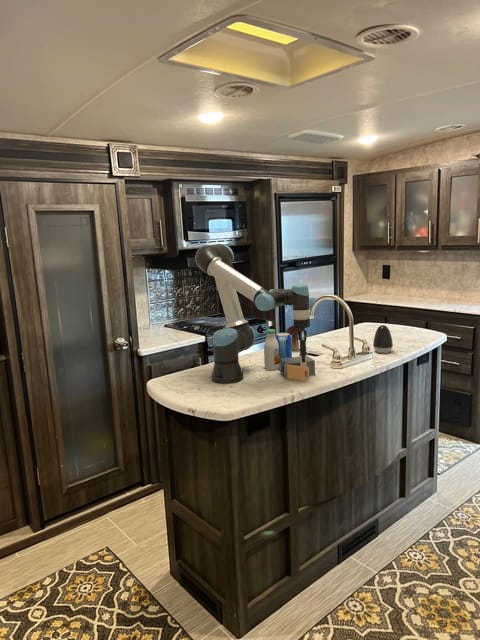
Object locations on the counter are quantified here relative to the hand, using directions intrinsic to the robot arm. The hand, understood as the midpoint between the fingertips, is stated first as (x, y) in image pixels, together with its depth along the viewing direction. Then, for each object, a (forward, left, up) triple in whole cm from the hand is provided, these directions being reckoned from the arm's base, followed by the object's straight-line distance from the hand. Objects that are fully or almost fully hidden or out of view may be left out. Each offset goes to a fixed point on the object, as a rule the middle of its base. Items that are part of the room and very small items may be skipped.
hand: (303, 368), depth 216 cm
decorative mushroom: (+15, +51, -5) cm, 54 cm away
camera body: (0, +9, -5) cm, 10 cm away
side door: (-4, -1, -4) cm, 6 cm away
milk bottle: (-8, +22, -5) cm, 24 cm away
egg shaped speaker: (+57, +27, -5) cm, 63 cm away
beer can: (0, +27, -5) cm, 28 cm away
